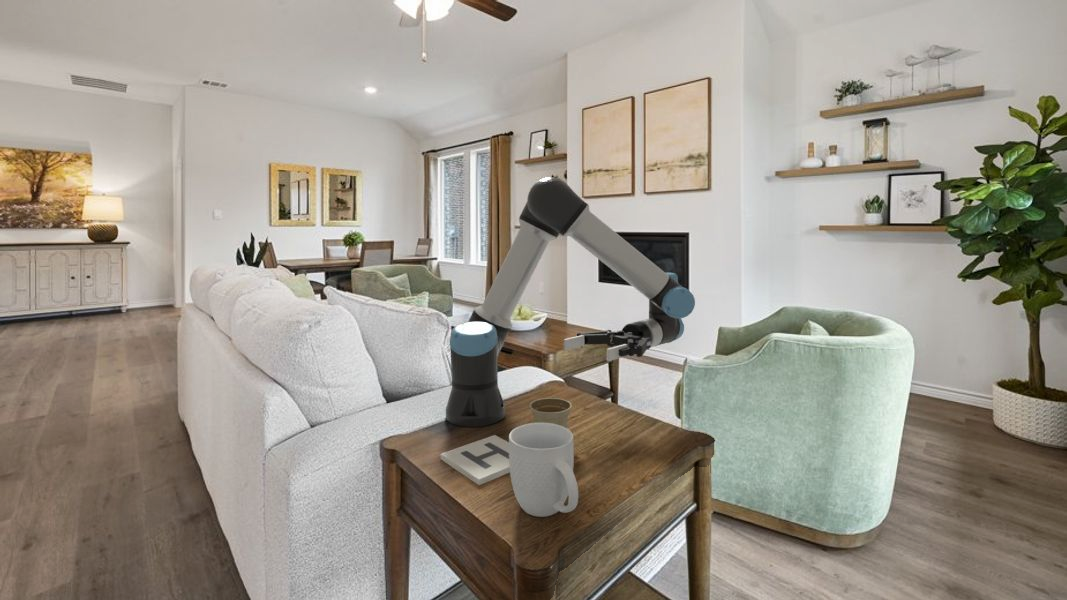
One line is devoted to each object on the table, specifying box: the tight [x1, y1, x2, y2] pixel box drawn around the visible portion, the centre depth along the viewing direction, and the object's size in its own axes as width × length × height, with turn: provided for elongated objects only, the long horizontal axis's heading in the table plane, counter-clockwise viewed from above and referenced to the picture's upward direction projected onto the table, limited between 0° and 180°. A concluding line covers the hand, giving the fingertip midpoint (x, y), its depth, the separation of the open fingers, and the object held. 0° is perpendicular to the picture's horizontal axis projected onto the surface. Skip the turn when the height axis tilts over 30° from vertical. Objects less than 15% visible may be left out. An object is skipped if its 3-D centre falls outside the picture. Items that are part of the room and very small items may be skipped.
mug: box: [508, 422, 579, 518], centre depth 82 cm, size 15×11×13 cm
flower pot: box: [529, 397, 573, 428], centre depth 109 cm, size 9×9×9 cm
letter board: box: [440, 434, 510, 486], centre depth 101 cm, size 14×14×1 cm
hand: (585, 349), depth 114 cm, fingers open, 13 cm apart
